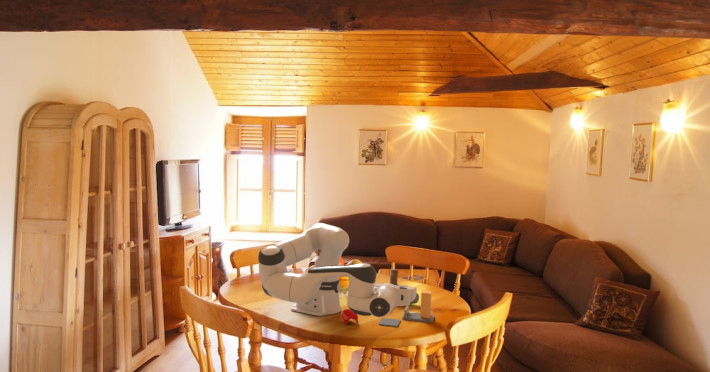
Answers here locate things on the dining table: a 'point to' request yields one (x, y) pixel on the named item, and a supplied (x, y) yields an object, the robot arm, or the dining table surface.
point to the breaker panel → (416, 316)
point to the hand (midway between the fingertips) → (393, 285)
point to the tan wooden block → (425, 304)
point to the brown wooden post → (393, 276)
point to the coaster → (389, 322)
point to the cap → (349, 316)
